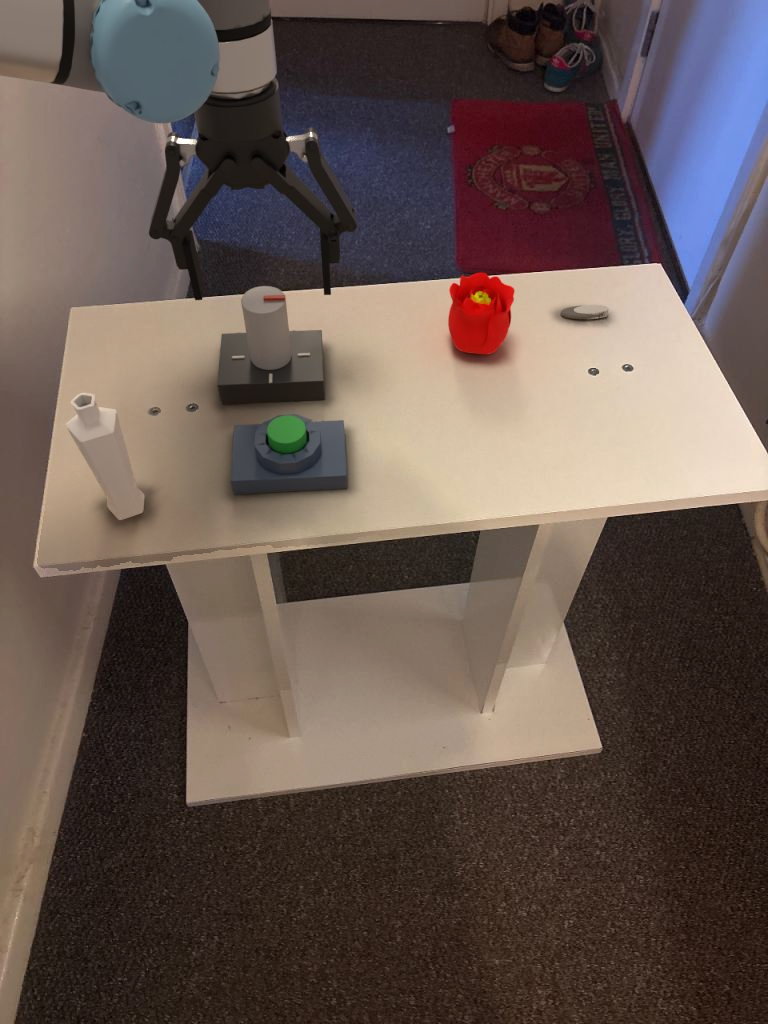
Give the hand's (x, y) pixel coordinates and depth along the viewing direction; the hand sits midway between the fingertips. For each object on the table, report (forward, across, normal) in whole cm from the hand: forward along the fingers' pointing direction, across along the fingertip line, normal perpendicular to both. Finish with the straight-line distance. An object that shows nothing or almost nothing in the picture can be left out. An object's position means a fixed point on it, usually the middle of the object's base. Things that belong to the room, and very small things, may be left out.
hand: (263, 290), depth 81 cm
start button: (+9, -2, +14) cm, 17 cm away
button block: (+12, -2, +14) cm, 19 cm away
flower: (+13, -25, -4) cm, 28 cm away
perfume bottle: (+12, +15, +19) cm, 27 cm away
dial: (+9, 0, 0) cm, 9 cm away
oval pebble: (+13, -40, -9) cm, 43 cm away
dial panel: (+12, 0, 0) cm, 12 cm away
